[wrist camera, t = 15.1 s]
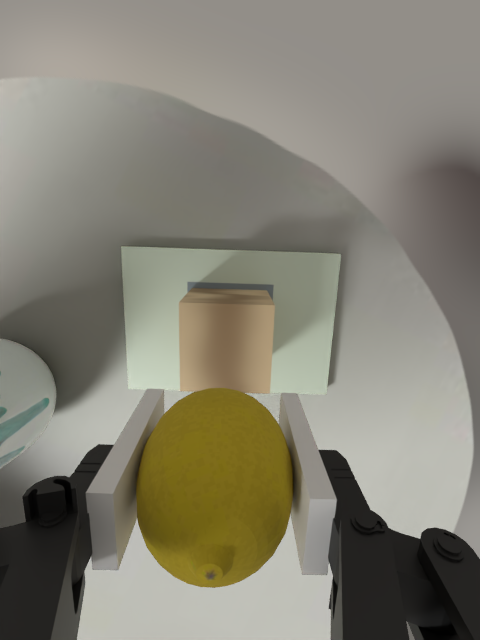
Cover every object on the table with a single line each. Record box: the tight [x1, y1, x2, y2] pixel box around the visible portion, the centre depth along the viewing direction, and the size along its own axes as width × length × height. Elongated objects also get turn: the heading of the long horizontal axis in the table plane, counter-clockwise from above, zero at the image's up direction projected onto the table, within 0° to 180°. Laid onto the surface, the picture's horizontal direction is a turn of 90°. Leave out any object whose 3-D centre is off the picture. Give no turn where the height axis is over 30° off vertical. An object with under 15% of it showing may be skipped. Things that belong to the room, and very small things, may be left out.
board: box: [121, 246, 341, 395], centre depth 32 cm, size 20×14×1 cm
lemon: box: [136, 388, 293, 588], centre depth 12 cm, size 6×6×8 cm
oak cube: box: [179, 288, 275, 393], centre depth 28 cm, size 7×7×7 cm
